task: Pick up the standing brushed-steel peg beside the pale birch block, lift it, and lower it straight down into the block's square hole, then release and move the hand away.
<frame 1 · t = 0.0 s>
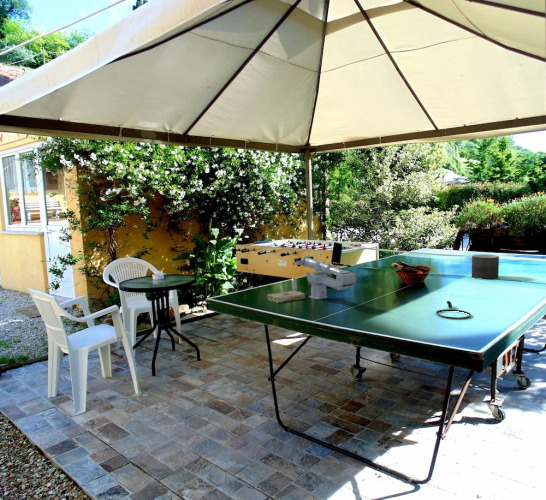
hand: (299, 259, 287), 22 cm above the table, tool horizontal, fingers open, 7 cm apart
food container: (313, 286, 308), on the table
planter: (484, 277, 324), on the table
frying pan: (451, 313, 229), on the table
hole block: (285, 298, 271), on the table
steel peg: (294, 294, 285), on the table
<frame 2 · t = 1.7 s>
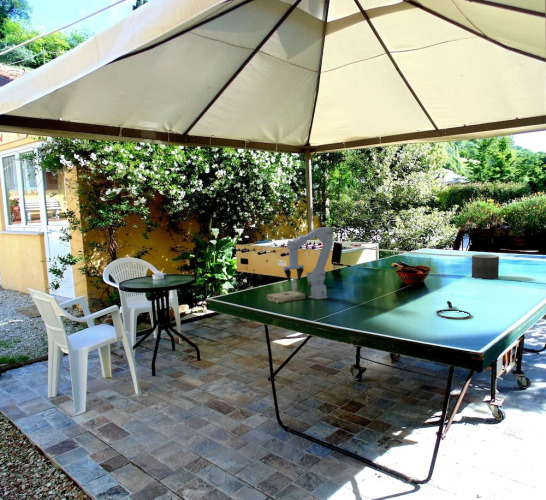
hand: (294, 280, 284), 9 cm above the table, tool pointing down, fingers open, 7 cm apart
nothing on the table moved.
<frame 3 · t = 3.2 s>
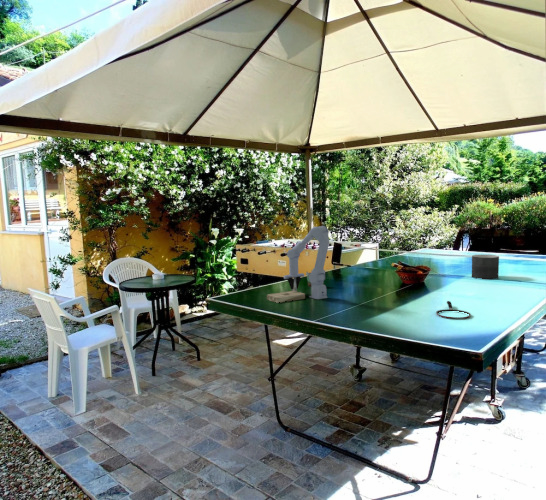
hand: (294, 288, 285), 3 cm above the table, tool pointing down, fingers closed on steel peg, 3 cm apart
steel peg: (294, 294, 285), on the table, touching gripper
everything else where it was.
when the fingers open (4 cm above the table, at t = 7.5 s): steel peg stays where it is, resting in hole block.
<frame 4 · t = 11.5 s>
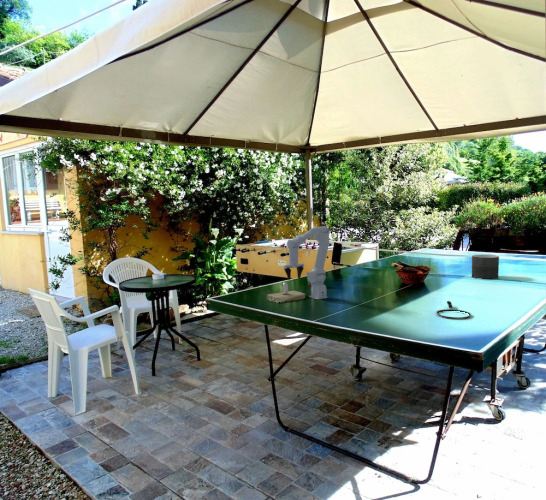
hand: (294, 278, 288), 9 cm above the table, tool pointing down, fingers open, 7 cm apart
steel peg: (285, 298, 272), resting in hole block
everything else where it was.
at the end: steel peg 0.2 cm off-centre on the hole block, point 0.0 cm above the hole block's base; steel peg tilted 0°; the gripper is holding nothing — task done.
